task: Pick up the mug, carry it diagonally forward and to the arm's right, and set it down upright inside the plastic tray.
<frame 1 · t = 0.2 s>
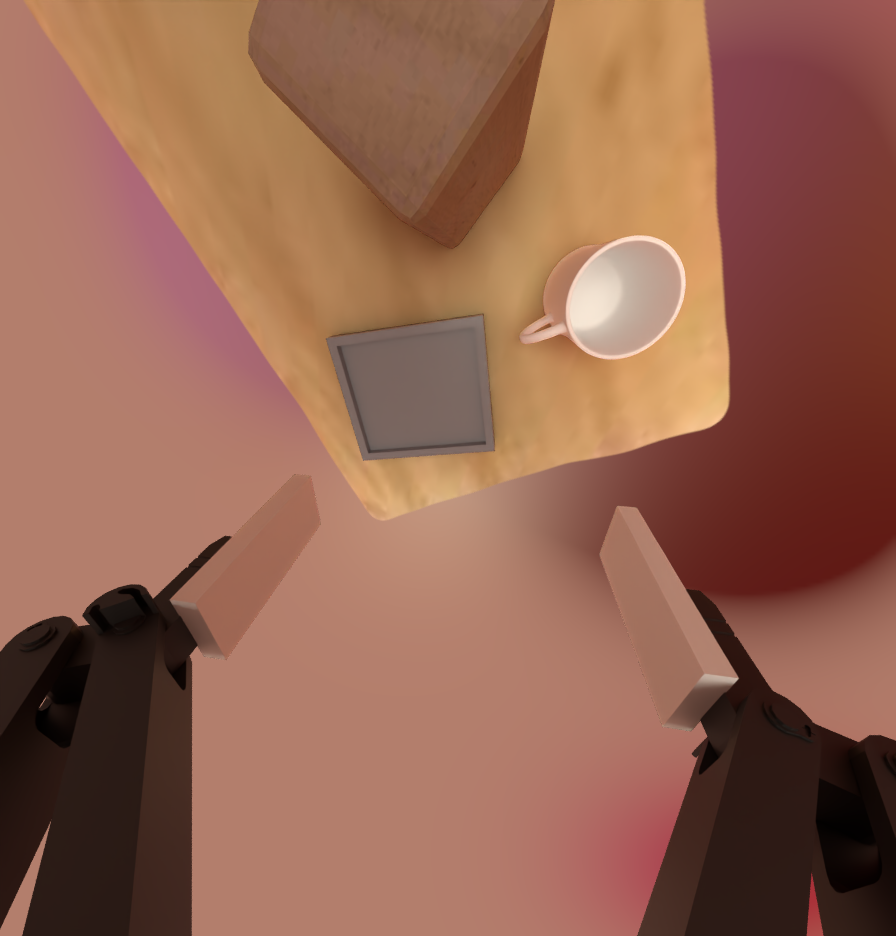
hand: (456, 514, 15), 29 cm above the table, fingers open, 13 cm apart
tray: (417, 393, 42), on the table
wooden block: (448, 163, 31), on the table
mug: (568, 300, 35), on the table
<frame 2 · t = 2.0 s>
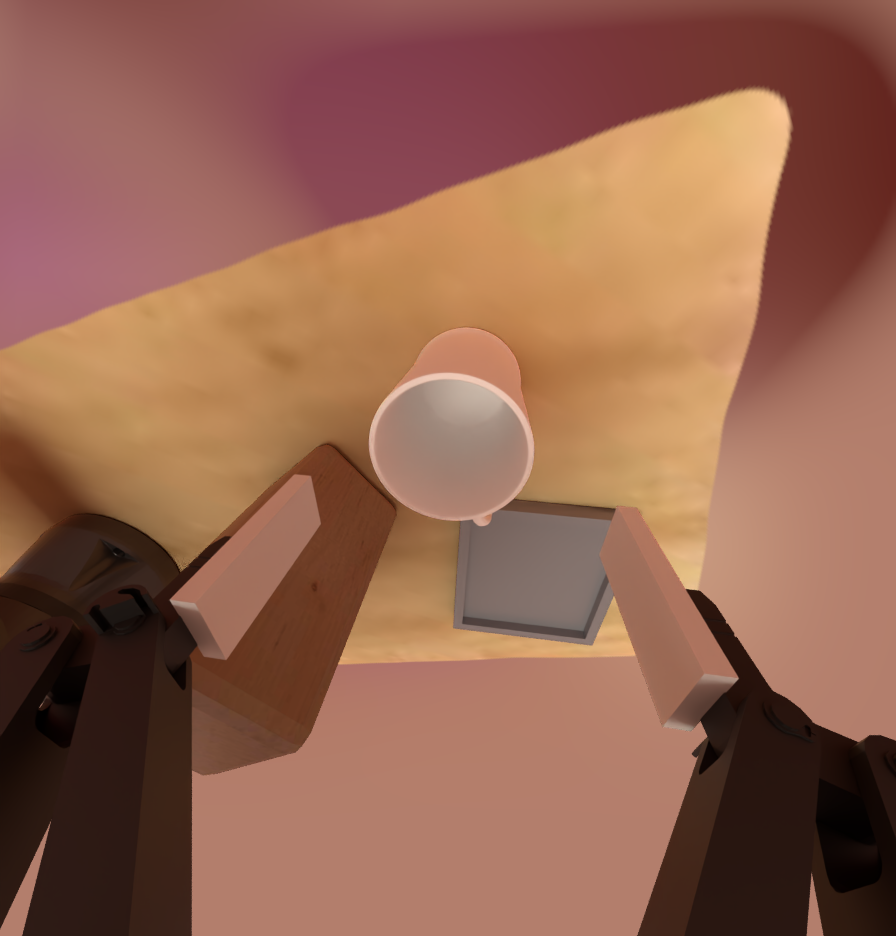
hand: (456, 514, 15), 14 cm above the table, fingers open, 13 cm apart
tray: (532, 570, 36), on the table
wooden block: (335, 497, 34), on the table
mug: (469, 403, 27), on the table
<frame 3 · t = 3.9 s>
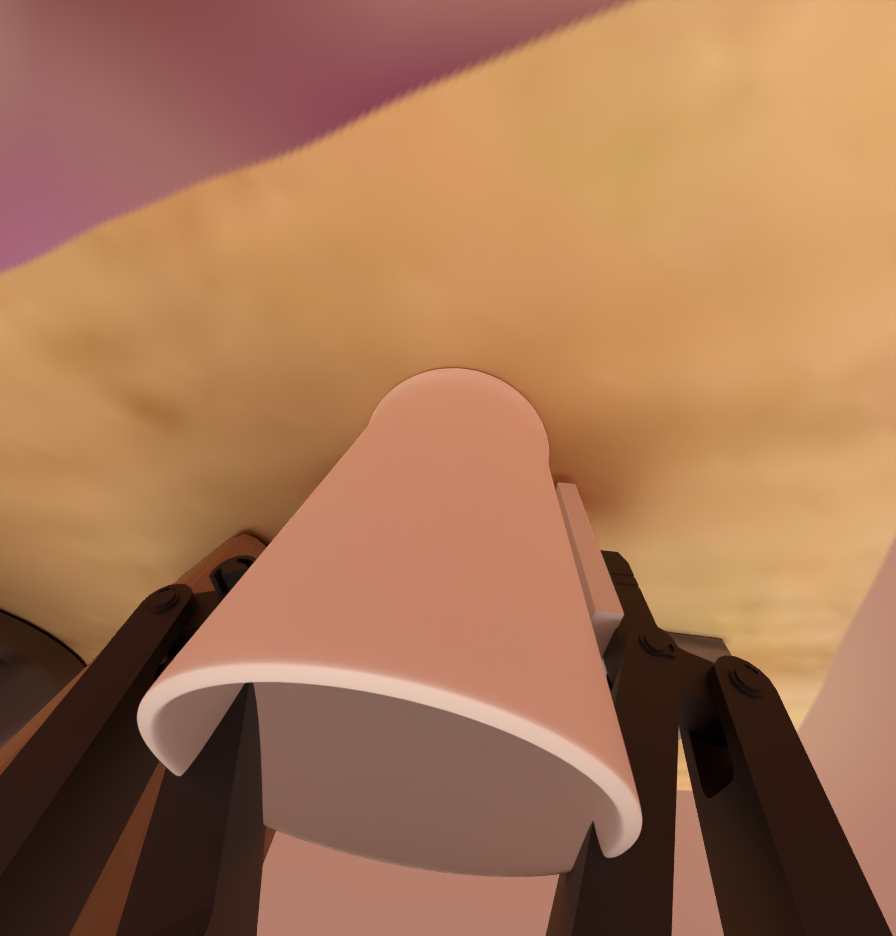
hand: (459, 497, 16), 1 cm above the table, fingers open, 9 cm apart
tray: (554, 695, 25), on the table
wooden block: (270, 596, 23), on the table
mug: (461, 484, 17), on the table, touching gripper
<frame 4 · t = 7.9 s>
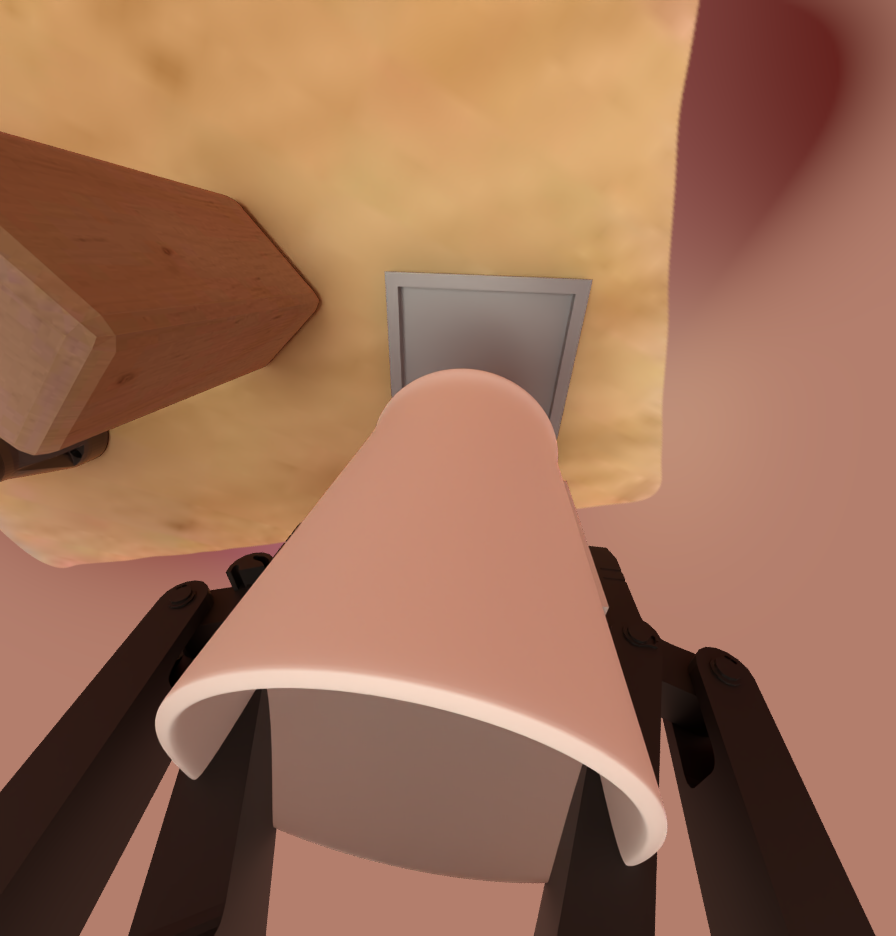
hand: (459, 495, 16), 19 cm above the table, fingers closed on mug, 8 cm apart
tray: (477, 384, 32), on the table
wooden block: (253, 291, 30), on the table
mug: (468, 485, 17), point 18 cm above the table, touching gripper
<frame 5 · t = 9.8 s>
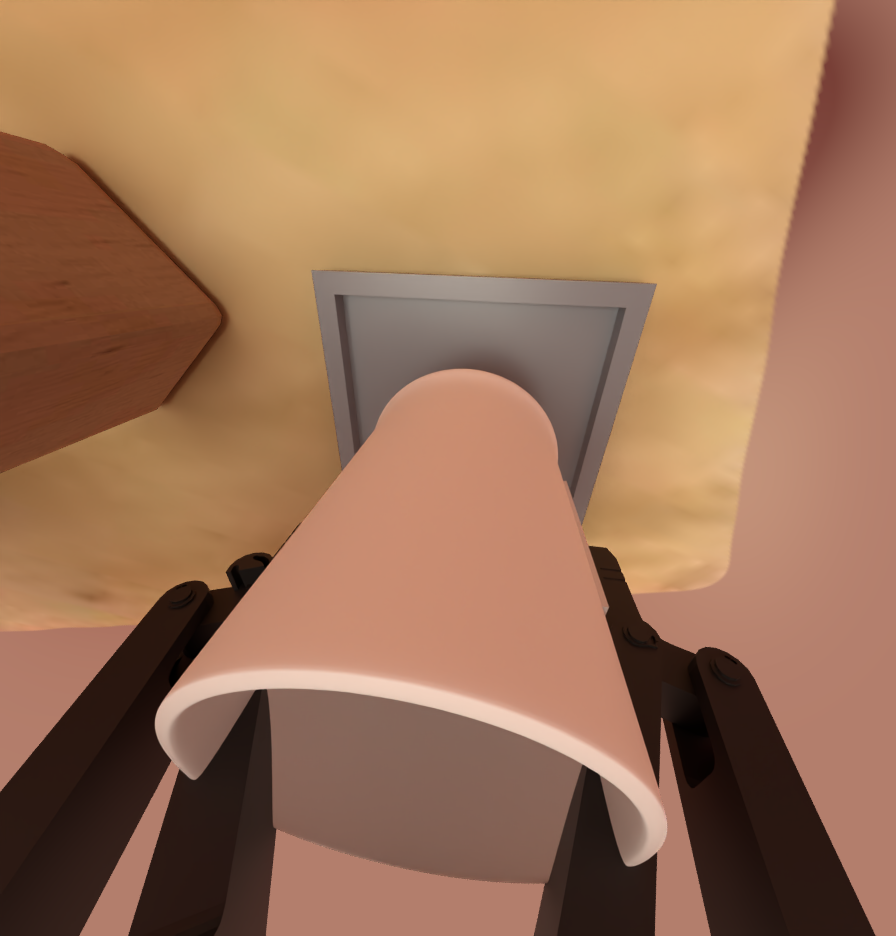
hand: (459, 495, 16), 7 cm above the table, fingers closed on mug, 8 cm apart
tray: (467, 436, 22), on the table
wooden block: (126, 300, 20), on the table
mug: (468, 485, 17), point 6 cm above the table, touching gripper
when the fingers open (3 cm above the table, at t = 11.5 s): mug drops 1 cm, resting on tray.
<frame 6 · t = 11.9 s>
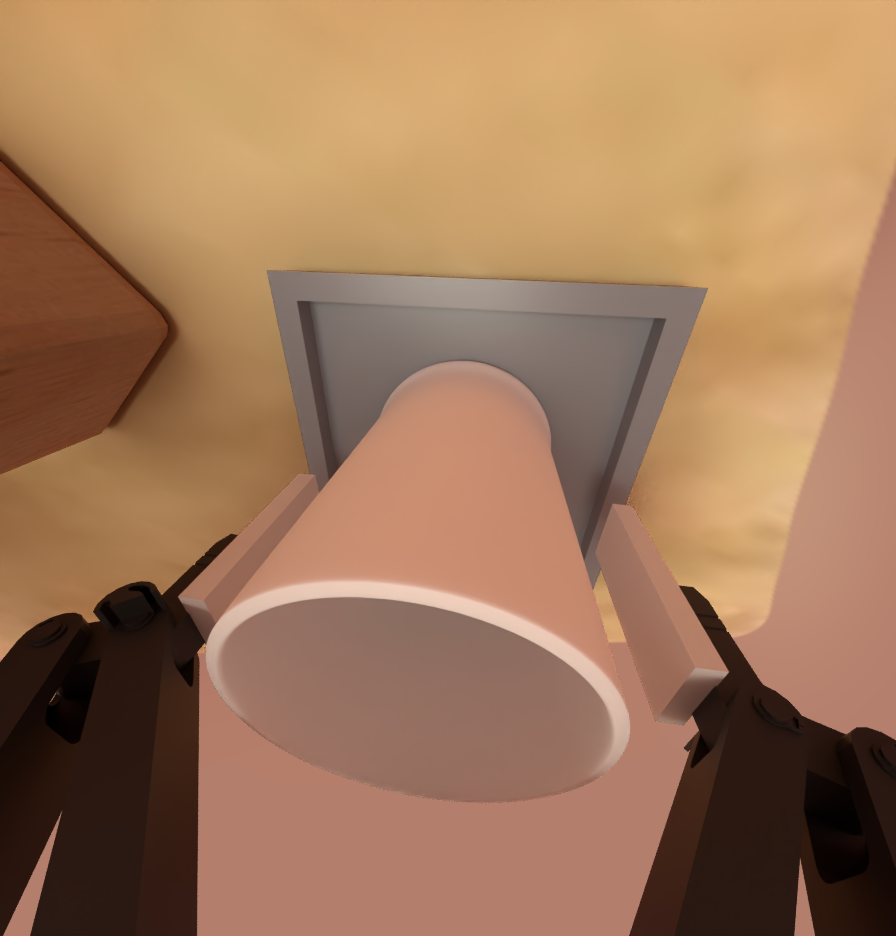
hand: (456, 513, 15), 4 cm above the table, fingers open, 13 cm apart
tray: (464, 467, 18), on the table
wooden block: (57, 307, 17), on the table
mug: (467, 472, 18), point 1 cm above the table, touching tray
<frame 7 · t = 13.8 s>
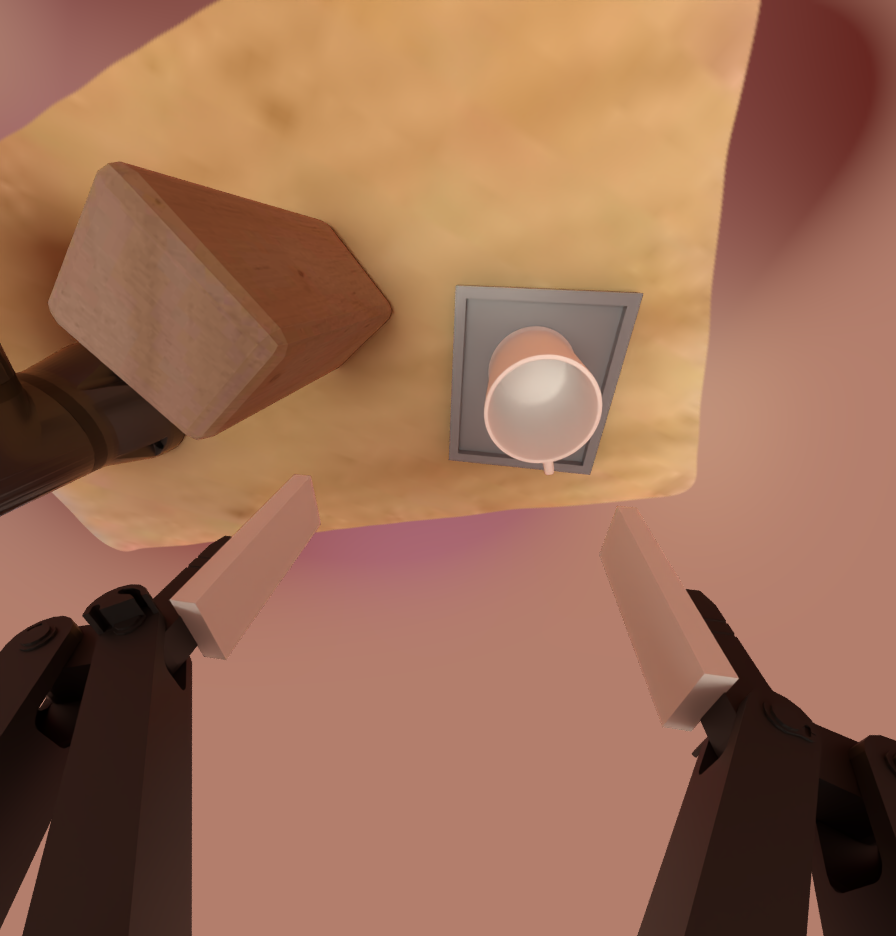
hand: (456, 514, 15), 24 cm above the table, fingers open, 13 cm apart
tray: (529, 385, 35), on the table
wooden block: (332, 301, 34), on the table
mug: (531, 386, 34), point 1 cm above the table, touching tray
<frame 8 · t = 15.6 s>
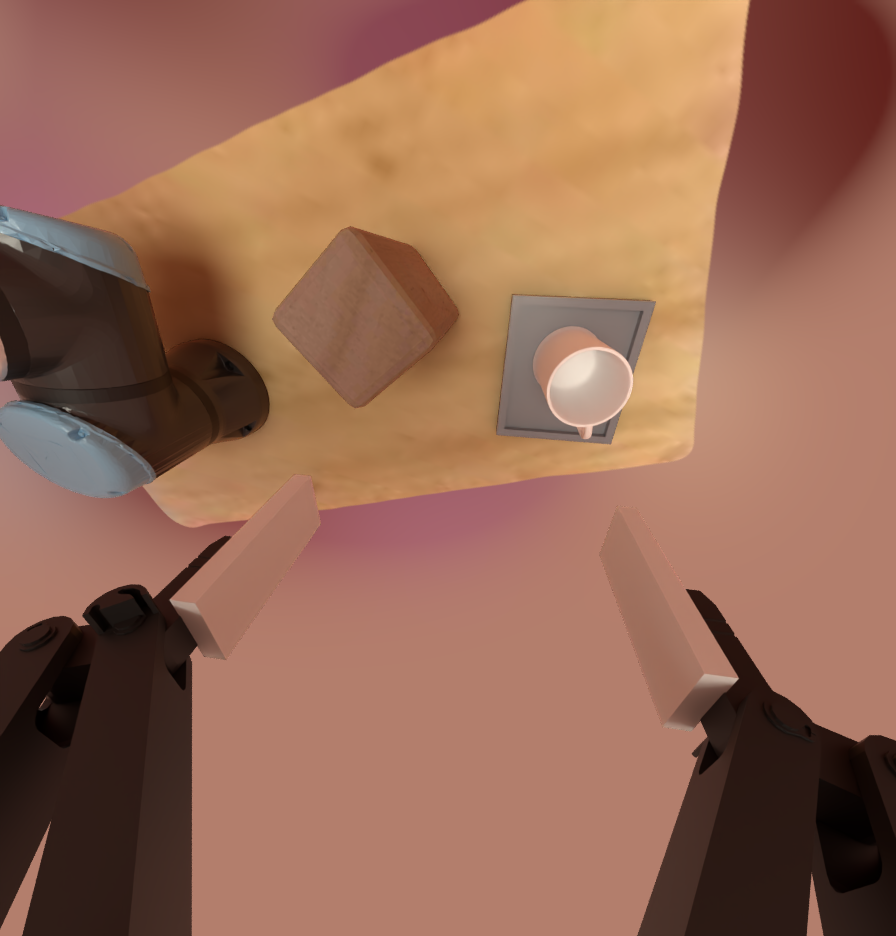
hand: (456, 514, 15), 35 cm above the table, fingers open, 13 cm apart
tray: (563, 372, 44), on the table
wooden block: (408, 307, 43), on the table
mug: (566, 373, 44), point 1 cm above the table, touching tray
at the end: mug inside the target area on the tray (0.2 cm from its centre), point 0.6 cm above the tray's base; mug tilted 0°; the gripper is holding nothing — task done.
